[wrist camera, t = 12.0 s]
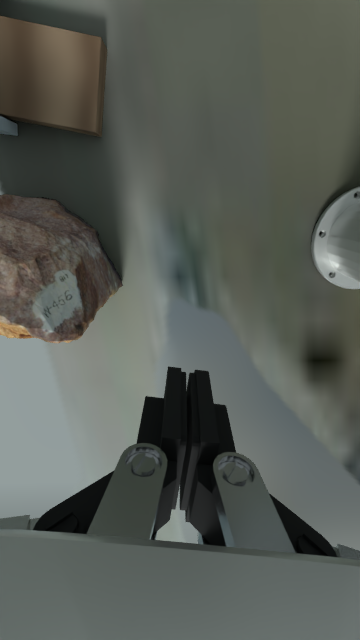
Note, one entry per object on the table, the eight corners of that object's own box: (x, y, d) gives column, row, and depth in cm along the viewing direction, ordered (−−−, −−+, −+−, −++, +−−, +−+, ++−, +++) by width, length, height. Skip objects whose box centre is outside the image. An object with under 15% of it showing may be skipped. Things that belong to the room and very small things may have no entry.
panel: (108, 51, 32) (101, 37, 29) (102, 137, 35) (95, 132, 32) (-28, 23, 31) (-49, 5, 28) (-22, 113, 34) (-41, 105, 31)
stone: (142, 256, 39) (105, 306, 20) (101, 317, 42) (37, 409, 24) (10, 163, 35) (-185, 120, 17) (-25, 238, 38) (-220, 274, 20)
